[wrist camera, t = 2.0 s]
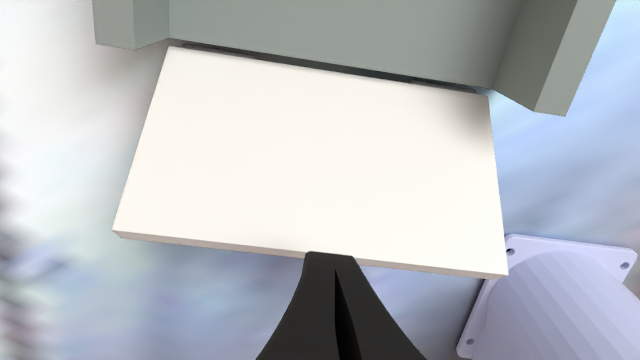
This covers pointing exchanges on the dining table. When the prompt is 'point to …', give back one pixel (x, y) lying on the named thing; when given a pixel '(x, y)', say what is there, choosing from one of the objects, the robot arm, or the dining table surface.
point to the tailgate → (316, 166)
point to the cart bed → (390, 37)
